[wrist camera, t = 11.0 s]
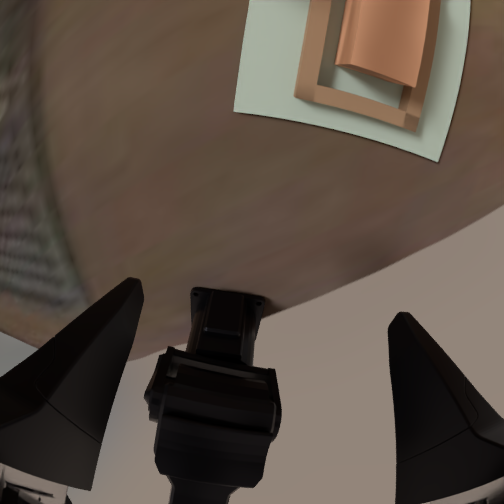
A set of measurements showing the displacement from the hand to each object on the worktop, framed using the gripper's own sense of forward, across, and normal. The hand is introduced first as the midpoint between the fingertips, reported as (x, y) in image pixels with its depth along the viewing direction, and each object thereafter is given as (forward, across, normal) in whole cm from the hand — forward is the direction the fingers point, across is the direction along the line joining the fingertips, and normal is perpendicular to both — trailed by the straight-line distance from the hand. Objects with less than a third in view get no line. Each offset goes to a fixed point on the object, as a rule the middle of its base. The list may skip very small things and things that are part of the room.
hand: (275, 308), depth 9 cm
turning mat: (+11, -4, -12) cm, 17 cm away
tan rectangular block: (+11, -4, -12) cm, 17 cm away
